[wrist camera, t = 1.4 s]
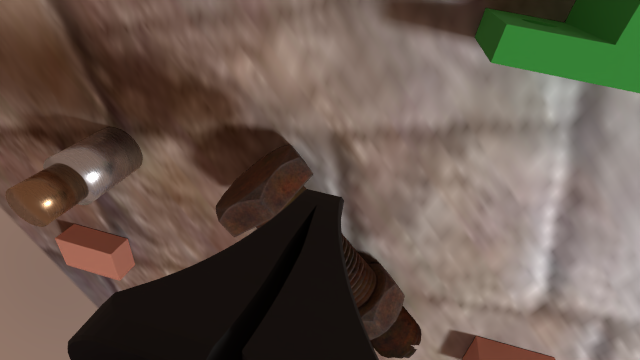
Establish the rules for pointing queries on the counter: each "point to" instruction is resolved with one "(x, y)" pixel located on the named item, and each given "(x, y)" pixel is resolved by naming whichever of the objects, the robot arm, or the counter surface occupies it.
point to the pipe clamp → (570, 42)
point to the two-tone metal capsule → (76, 176)
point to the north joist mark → (96, 251)
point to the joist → (499, 351)
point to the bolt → (365, 279)
